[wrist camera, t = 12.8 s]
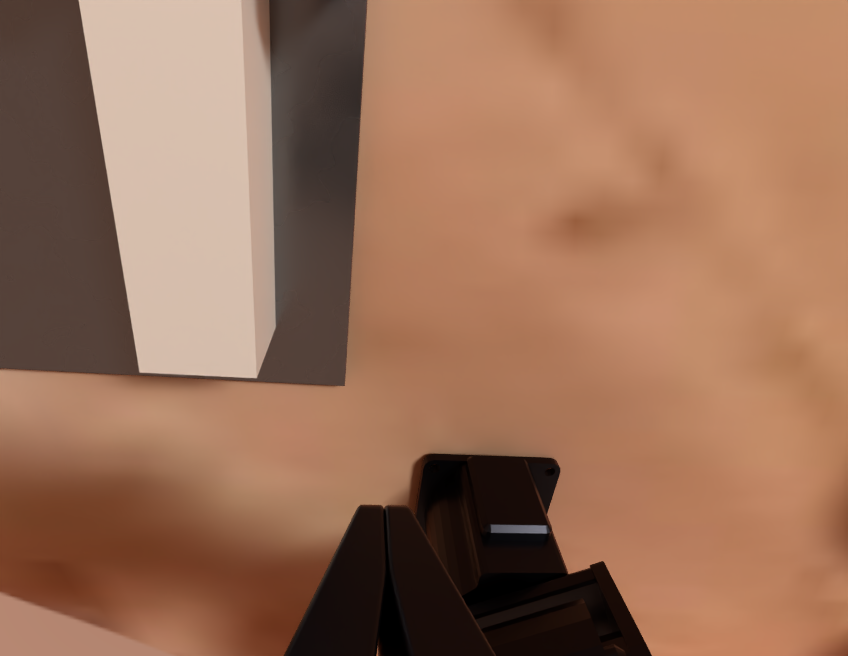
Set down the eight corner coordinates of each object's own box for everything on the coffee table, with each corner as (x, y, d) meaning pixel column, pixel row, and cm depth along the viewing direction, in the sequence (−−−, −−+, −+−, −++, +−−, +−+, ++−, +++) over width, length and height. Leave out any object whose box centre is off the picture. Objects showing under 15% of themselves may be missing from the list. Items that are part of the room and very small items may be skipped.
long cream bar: (275, 327, 19) (256, 378, 16) (178, 321, 19) (139, 372, 16) (262, -337, 12) (221, -481, 8) (97, -374, 11) (-11, -540, 8)
